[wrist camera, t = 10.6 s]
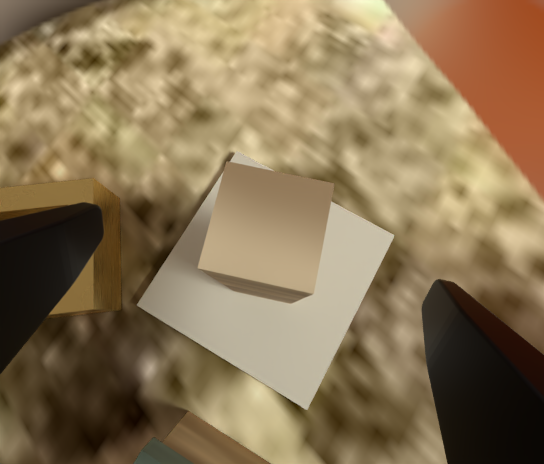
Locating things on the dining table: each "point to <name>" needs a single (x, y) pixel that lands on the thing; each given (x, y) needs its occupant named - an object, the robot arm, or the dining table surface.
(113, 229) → the frame
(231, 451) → the drawer
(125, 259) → the dining table surface
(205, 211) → the grey mat
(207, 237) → the brown square block
